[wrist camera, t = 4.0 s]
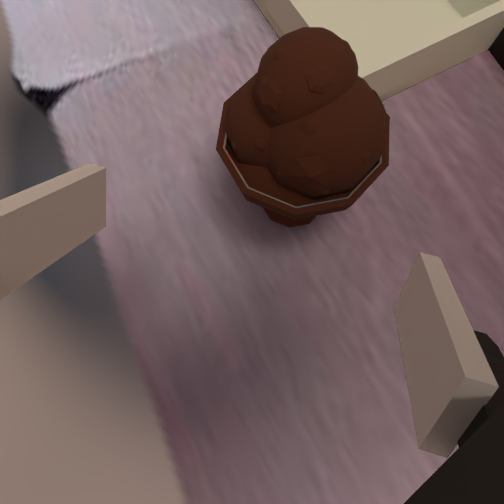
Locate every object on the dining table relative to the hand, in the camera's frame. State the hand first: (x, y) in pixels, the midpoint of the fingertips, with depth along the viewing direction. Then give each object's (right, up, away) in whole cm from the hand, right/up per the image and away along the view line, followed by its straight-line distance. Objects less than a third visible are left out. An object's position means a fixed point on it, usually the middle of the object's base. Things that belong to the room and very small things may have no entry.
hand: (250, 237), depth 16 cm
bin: (+12, +22, +23) cm, 34 cm away
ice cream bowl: (+4, +4, +18) cm, 18 cm away
